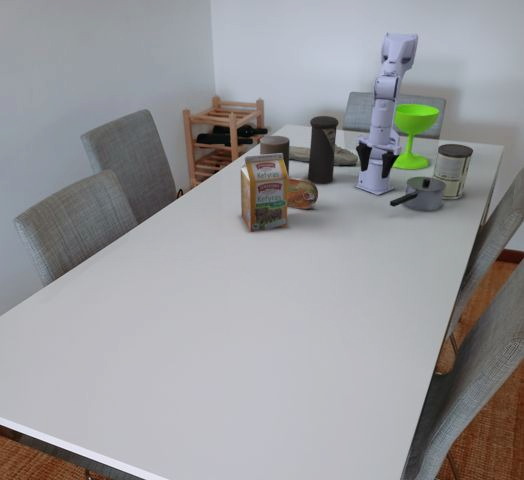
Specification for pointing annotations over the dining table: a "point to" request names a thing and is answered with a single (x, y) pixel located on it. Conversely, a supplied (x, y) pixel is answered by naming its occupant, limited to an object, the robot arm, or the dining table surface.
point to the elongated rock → (339, 157)
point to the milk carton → (264, 192)
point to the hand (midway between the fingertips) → (374, 174)
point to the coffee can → (452, 168)
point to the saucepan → (422, 194)
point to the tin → (301, 193)
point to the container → (322, 149)
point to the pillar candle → (276, 147)
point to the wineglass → (413, 131)
